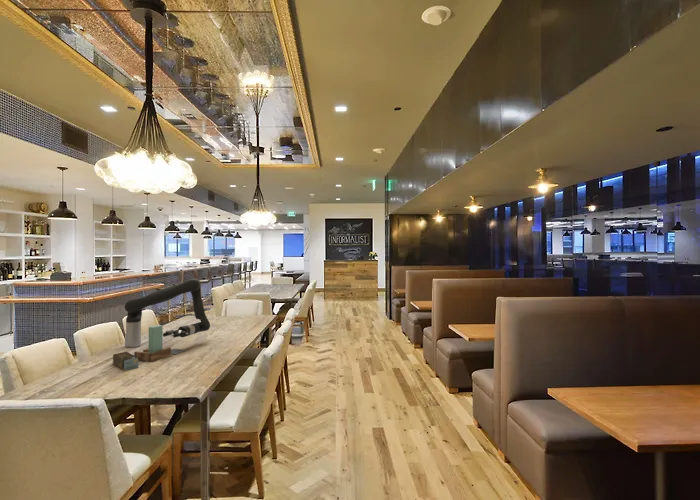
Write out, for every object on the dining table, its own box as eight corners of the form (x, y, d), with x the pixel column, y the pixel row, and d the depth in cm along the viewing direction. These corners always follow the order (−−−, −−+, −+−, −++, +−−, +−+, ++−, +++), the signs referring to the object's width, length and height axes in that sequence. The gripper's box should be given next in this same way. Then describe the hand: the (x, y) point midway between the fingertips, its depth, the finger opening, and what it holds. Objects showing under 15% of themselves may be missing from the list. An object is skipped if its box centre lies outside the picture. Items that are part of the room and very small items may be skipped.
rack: (133, 360, 234) (133, 351, 234) (153, 353, 249) (153, 346, 249) (151, 362, 230) (151, 353, 230) (170, 355, 245) (170, 347, 245)
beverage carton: (123, 371, 213) (123, 359, 213) (112, 364, 226) (112, 353, 226) (138, 367, 219) (138, 356, 219) (127, 361, 232) (127, 350, 232)
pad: (161, 353, 250) (161, 352, 250) (174, 349, 261) (174, 348, 261) (175, 354, 247) (175, 354, 247) (187, 350, 257) (187, 349, 257)
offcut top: (143, 353, 238) (143, 349, 238) (150, 351, 244) (150, 347, 244) (147, 354, 237) (147, 350, 237) (154, 351, 243) (154, 347, 243)
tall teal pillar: (148, 359, 236) (148, 327, 236) (157, 356, 243) (157, 325, 243) (153, 359, 235) (153, 327, 235) (162, 357, 241) (162, 325, 242)
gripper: (178, 324, 267) (160, 329, 251) (194, 325, 262) (177, 330, 247) (178, 335, 266) (159, 340, 251) (194, 336, 262) (177, 342, 247)
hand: (168, 335), depth 249 cm, fingers open, 8 cm apart
